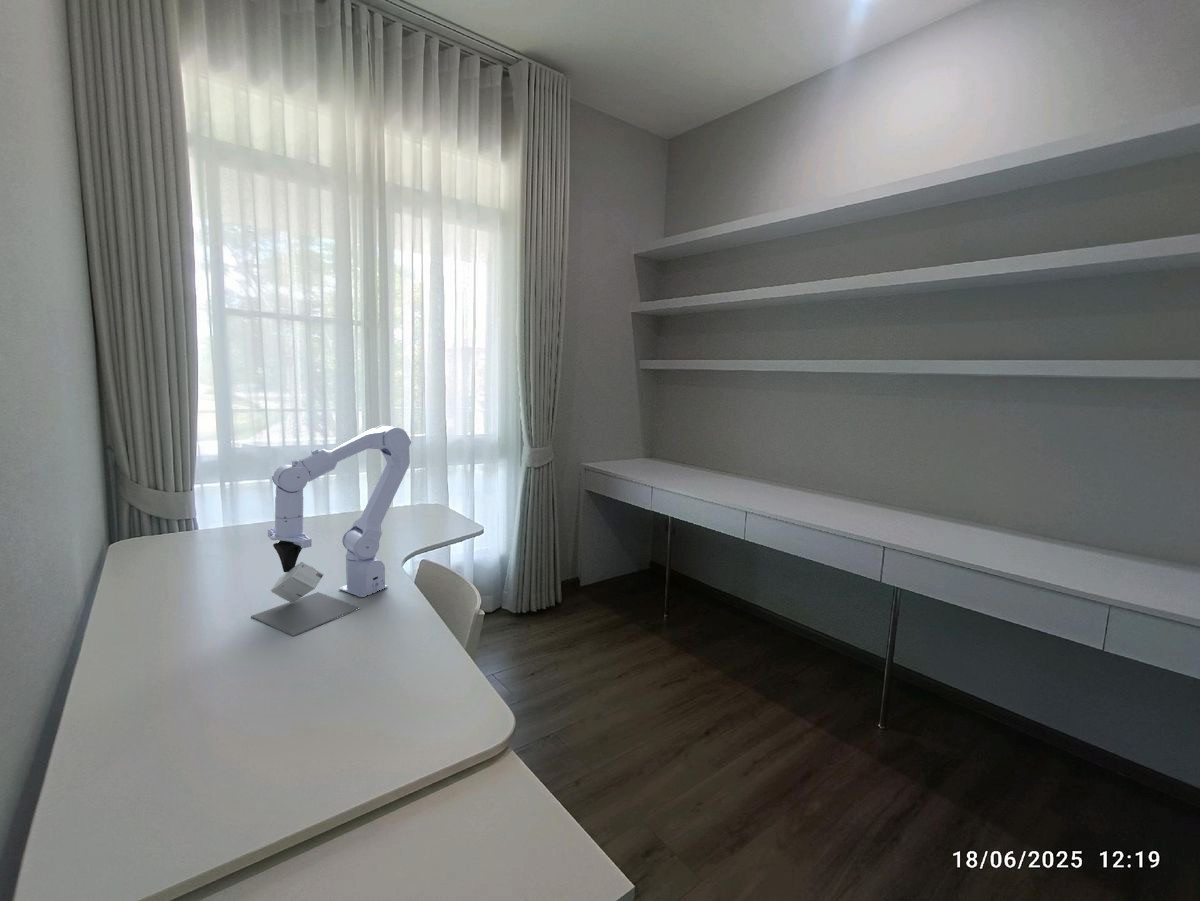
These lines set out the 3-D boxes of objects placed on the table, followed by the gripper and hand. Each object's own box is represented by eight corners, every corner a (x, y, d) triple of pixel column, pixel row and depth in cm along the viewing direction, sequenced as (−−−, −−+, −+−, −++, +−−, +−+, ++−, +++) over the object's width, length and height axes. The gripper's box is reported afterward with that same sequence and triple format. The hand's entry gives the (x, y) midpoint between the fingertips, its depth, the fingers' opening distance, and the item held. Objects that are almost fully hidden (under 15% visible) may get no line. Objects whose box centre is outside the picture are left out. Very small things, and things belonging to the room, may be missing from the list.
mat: (359, 608, 123) (359, 607, 123) (293, 636, 109) (293, 635, 109) (317, 593, 131) (317, 592, 131) (251, 617, 117) (251, 615, 117)
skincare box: (269, 591, 122) (289, 576, 115) (280, 575, 125) (300, 560, 119) (293, 604, 124) (314, 589, 118) (303, 588, 128) (324, 573, 121)
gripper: (254, 513, 121) (254, 568, 122) (290, 524, 114) (289, 582, 115) (284, 508, 127) (284, 561, 128) (320, 518, 120) (319, 574, 121)
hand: (288, 571), depth 122 cm, fingers closed, pressing on skincare box
